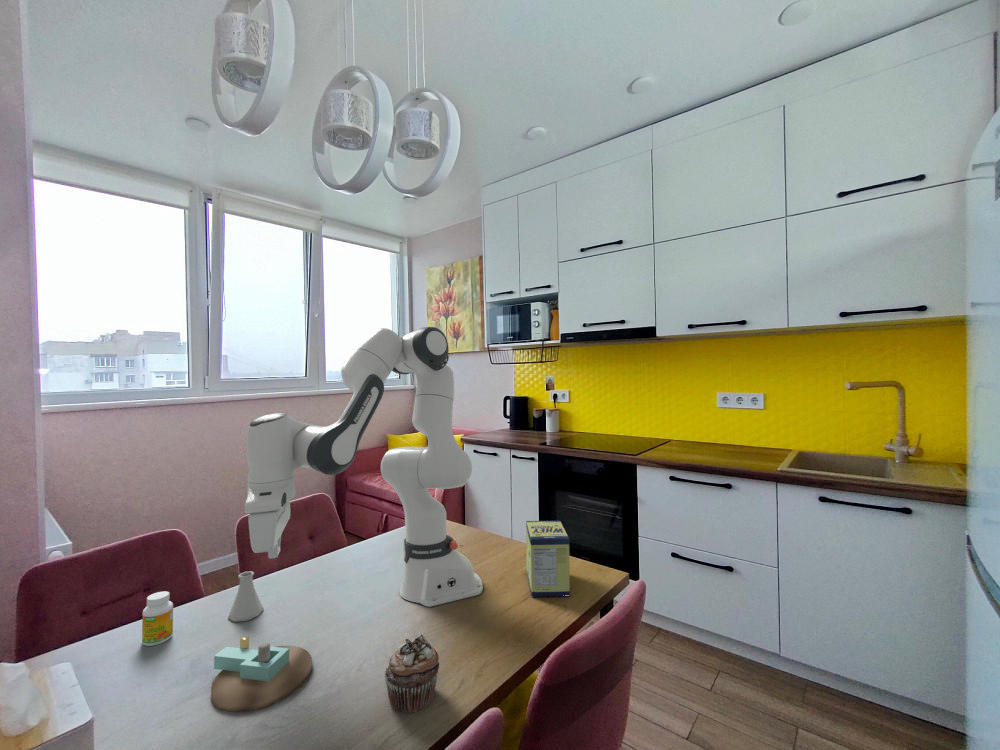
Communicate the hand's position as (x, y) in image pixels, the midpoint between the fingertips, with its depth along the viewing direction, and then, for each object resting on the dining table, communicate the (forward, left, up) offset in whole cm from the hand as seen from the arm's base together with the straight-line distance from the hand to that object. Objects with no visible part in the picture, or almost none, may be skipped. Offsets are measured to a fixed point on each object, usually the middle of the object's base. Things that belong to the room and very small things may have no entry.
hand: (274, 555), depth 92 cm
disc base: (0, +9, -20) cm, 22 cm away
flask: (+10, -18, -21) cm, 29 cm away
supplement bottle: (+26, -12, -20) cm, 35 cm away
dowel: (+5, +3, -19) cm, 20 cm away
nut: (+3, +6, -19) cm, 20 cm away
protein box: (-67, -12, -21) cm, 71 cm away
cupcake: (-27, +22, -21) cm, 40 cm away
